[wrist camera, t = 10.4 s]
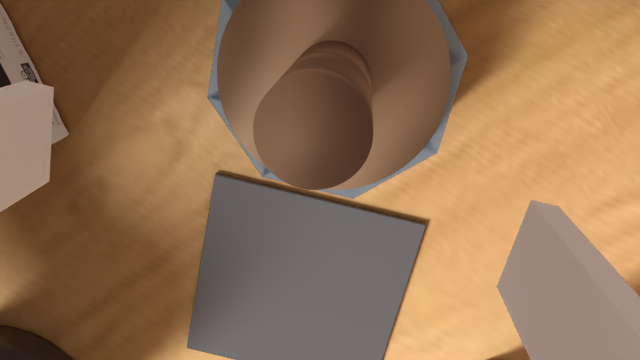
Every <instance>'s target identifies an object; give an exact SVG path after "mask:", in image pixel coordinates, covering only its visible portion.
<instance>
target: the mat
mask: <svg viewBox="0 0 640 360" xmlns="http://www.w3.org/2000/svg"><path fill="white" fill-rule="evenodd" d="M425 227H426V224H425V223H421V222H417V221H413V220H409V219H405V218H401V217H396V216H392V215H388V214H384V213H380V212H376V211H371V210H367V209H363V208H359V207H355V206H351V205H347V204H342V203H338V202H334V201H330V200H326V199H322V198H317V197H313V196H309V195H305V194H301V193H297V192H292V191H288V190H284V189H280V188H276V187H272V186H267V185H263V184H259V183H255V182H251V181H247V180H242V179H238V178H234V177H230V176H226V175H222V174H217V173H216V174H215V178H214V184H213V190H212V196H211V202H210V208H209V215H208V221H207V227H206V233H205V239H204V245H203V252H202V258H201V264H200V270H199V276H198V282H197V289H196V295H195V301H194V307H193V313H192V319H191V325H190V332H189V338H188V344H187V348H189V349H194V350H198V351H202V352H206V353H210V354H214V355H219V356H223V357H227V358H231V359H235V360H382V358H383V355H384V352H385V349H386V346H387V342H388V339H389V336H390V333H391V330H392V327H393V324H394V321H395V318H396V315H397V312H398V309H399V306H400V303H401V300H402V297H403V294H404V291H405V288H406V285H407V282H408V279H409V276H410V272H411V269H412V266H413V263H414V260H415V257H416V254H417V251H418V248H419V245H420V242H421V239H422V236H423V233H424V230H425Z"/></svg>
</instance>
